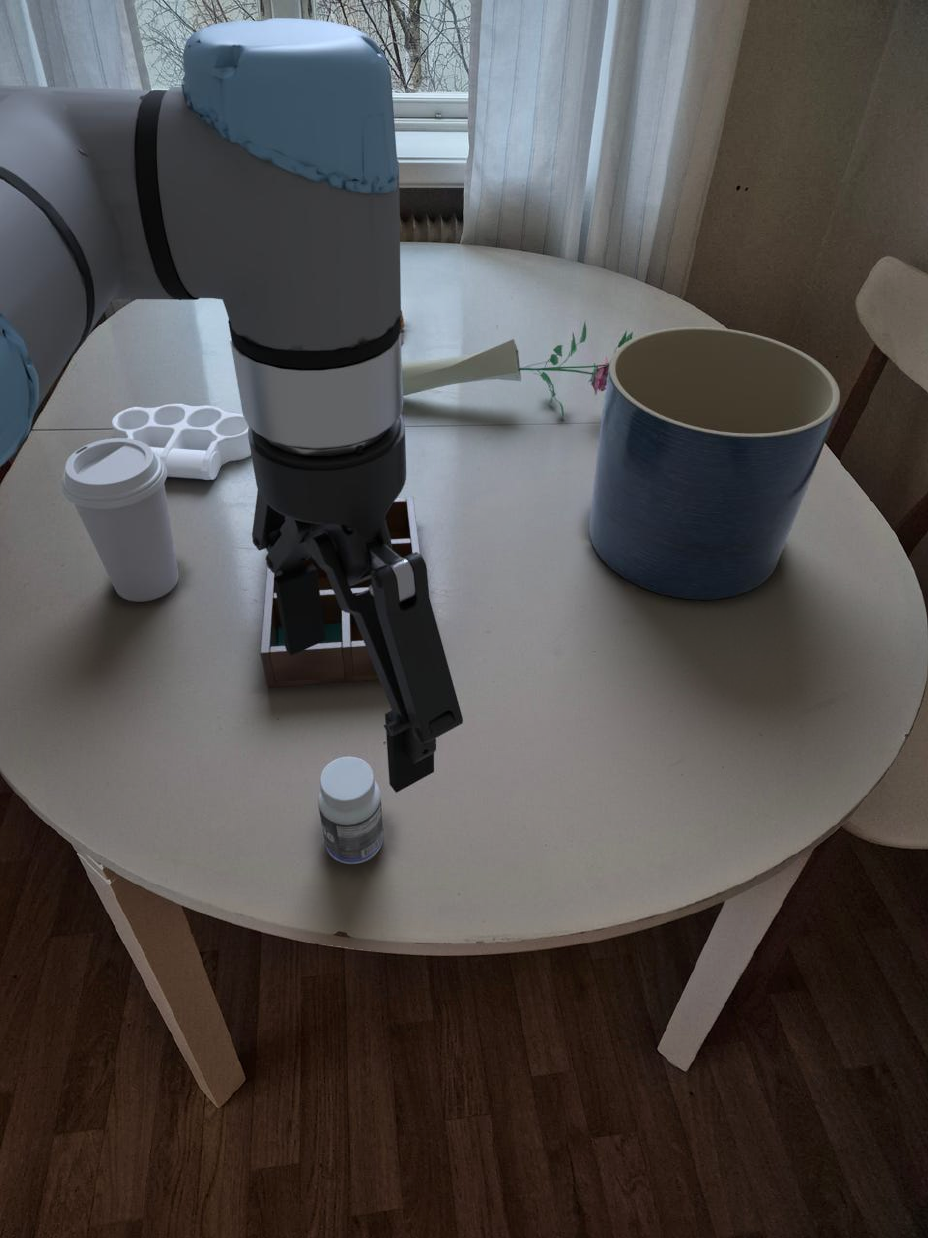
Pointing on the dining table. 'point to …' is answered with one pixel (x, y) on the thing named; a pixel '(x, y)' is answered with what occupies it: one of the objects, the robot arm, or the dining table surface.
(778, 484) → the planter
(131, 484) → the coffee cup
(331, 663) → the grid
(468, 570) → the dining table surface
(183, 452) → the knuckle duster
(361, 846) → the pill bottle
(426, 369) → the flower vase
